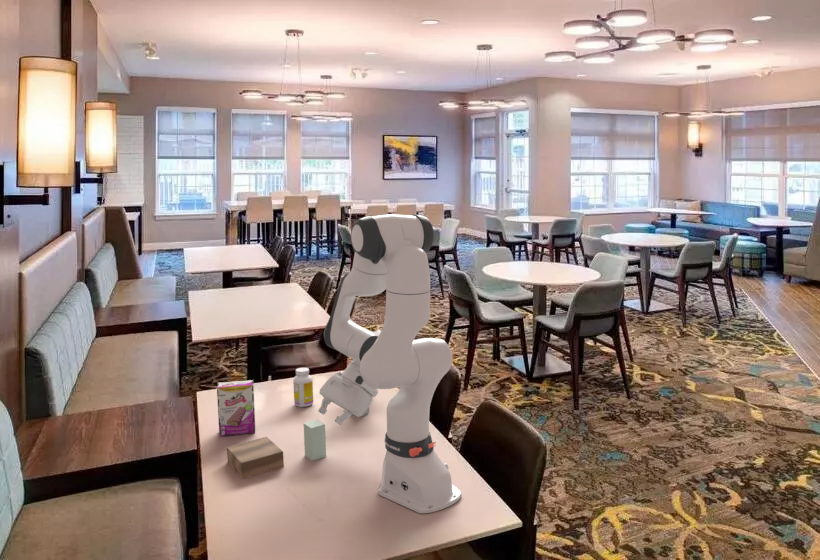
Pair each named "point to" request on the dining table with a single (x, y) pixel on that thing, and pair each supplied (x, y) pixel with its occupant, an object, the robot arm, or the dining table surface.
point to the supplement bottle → (303, 388)
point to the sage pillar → (314, 440)
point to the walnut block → (255, 457)
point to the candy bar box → (236, 407)
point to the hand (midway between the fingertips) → (328, 418)
